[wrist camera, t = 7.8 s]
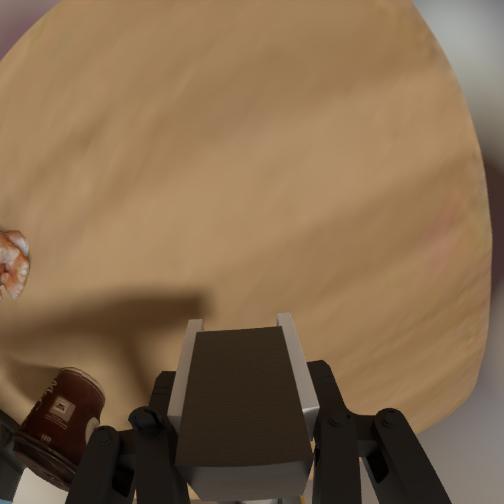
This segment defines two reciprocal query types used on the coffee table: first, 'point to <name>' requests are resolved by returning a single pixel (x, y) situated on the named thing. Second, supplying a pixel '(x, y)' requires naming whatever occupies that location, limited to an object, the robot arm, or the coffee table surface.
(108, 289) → the coffee table surface
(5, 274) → the figurine
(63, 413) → the coffee cup
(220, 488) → the shaft
